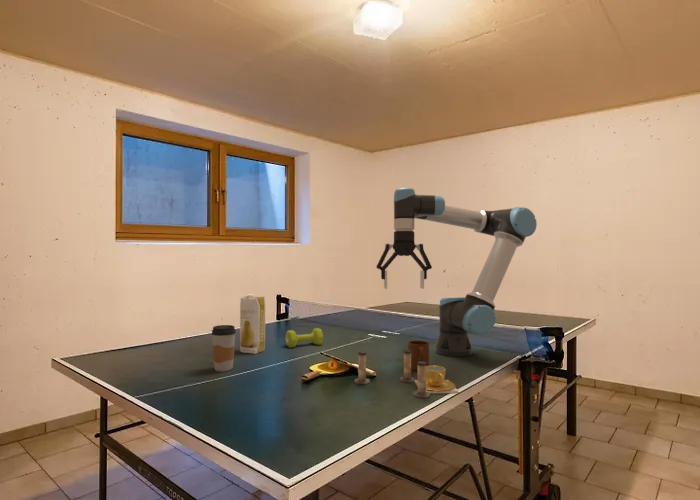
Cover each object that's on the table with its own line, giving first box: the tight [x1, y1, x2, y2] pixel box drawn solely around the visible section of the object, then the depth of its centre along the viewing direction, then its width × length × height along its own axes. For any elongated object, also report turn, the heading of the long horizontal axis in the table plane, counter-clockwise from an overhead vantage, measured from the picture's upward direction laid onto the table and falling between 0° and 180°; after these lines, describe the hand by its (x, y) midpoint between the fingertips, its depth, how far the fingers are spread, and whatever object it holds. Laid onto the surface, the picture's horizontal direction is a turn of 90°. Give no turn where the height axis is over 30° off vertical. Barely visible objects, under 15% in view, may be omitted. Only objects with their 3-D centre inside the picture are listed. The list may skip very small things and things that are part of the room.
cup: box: [415, 365, 456, 391], centre depth 133 cm, size 12×12×5 cm
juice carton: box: [239, 293, 266, 355], centre depth 178 cm, size 9×8×24 cm
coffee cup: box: [211, 324, 237, 373], centre depth 151 cm, size 8×8×15 cm
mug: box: [407, 340, 430, 372], centre depth 152 cm, size 12×8×9 cm, turn 2°
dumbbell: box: [284, 327, 324, 349], centre depth 190 cm, size 16×8×7 cm, turn 116°
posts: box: [354, 349, 431, 399], centre depth 132 cm, size 22×20×10 cm
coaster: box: [414, 379, 459, 394], centre depth 133 cm, size 11×11×1 cm
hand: (403, 288), depth 157 cm, fingers open, 13 cm apart
